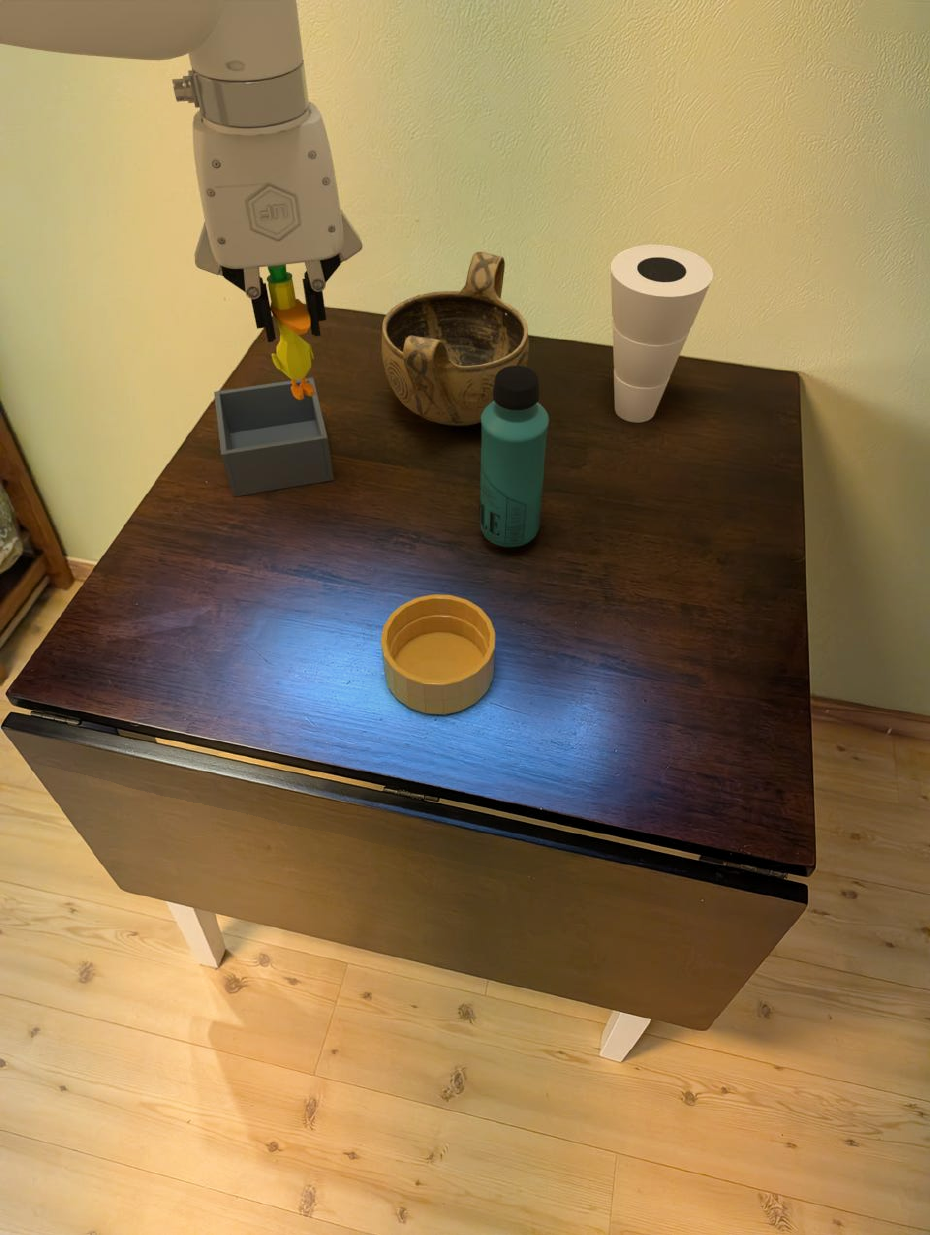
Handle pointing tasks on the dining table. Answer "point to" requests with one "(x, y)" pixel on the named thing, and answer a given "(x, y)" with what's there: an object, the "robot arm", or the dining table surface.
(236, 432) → the grey bin
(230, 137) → the robot arm
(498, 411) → the beverage bottle
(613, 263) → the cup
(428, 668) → the mustard bowl
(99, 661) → the dining table surface
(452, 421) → the ceramic bowl
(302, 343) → the toy figure
